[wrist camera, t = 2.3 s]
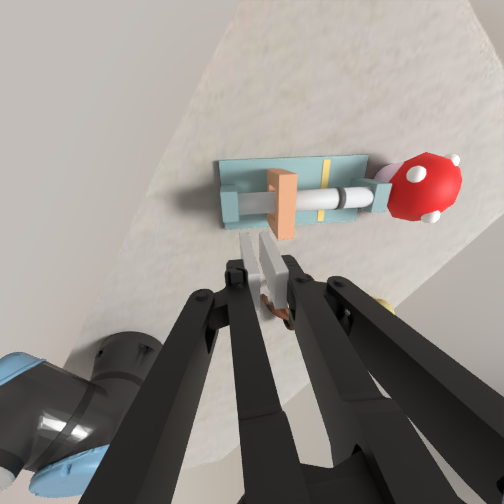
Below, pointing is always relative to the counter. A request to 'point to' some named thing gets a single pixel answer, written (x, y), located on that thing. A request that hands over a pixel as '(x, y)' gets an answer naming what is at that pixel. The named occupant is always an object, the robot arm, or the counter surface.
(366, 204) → the pipe rig
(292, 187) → the peach rectangular collar
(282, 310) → the pottery mug
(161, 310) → the counter surface
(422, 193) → the mushroom
